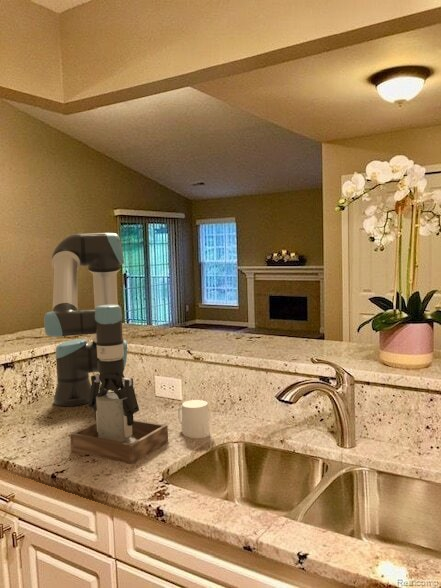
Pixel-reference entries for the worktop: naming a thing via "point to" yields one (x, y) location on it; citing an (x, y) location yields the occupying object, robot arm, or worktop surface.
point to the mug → (194, 418)
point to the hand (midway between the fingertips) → (114, 433)
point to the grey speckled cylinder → (110, 417)
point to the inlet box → (129, 451)
